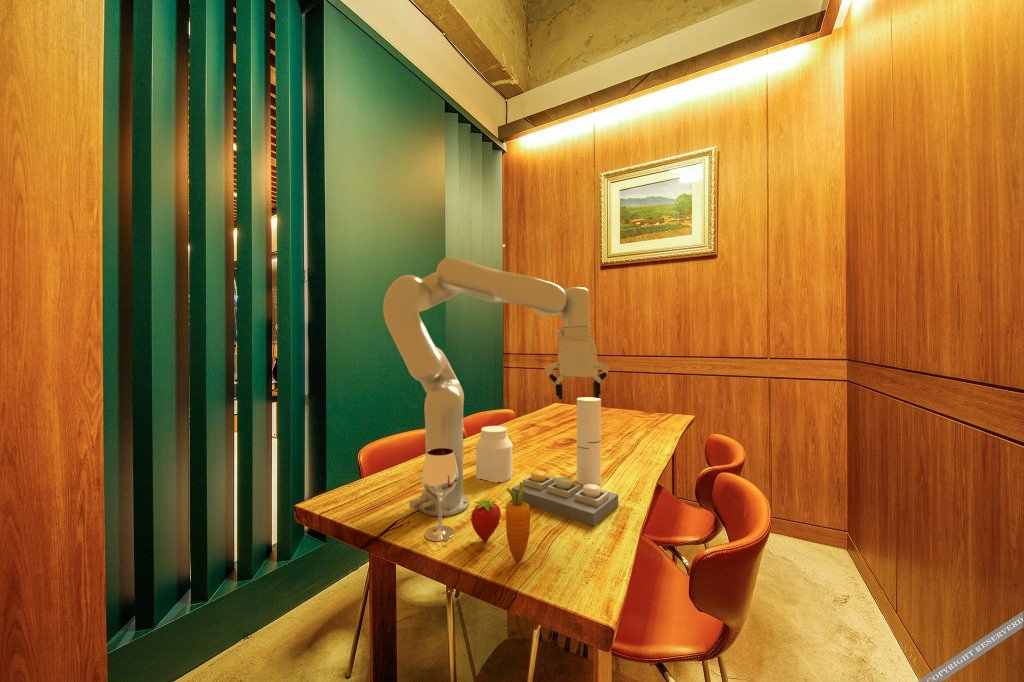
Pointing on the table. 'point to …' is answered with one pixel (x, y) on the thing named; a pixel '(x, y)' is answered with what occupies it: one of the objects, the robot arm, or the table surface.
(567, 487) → the sage button
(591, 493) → the cream button
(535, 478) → the amber button
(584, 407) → the cylindrical container
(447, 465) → the wineglass
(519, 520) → the carrot
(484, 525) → the strawberry
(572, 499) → the button panel
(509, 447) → the jar
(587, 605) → the table surface
